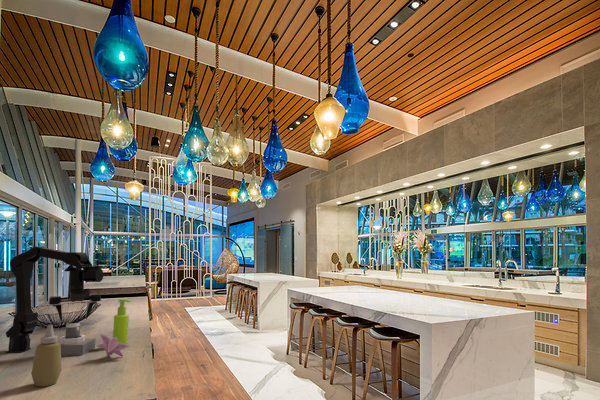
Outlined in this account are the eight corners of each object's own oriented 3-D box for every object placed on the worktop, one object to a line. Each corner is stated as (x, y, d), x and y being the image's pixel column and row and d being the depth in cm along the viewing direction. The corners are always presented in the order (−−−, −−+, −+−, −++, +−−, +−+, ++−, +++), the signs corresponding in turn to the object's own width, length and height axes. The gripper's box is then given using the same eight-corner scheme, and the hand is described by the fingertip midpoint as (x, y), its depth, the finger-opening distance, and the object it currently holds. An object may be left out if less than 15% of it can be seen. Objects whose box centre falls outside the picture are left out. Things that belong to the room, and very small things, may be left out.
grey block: (70, 343, 160) (71, 325, 161) (62, 342, 162) (63, 324, 163) (82, 341, 165) (83, 323, 165) (73, 340, 167) (75, 322, 168)
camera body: (45, 356, 156) (47, 340, 157) (61, 348, 168) (62, 334, 169) (82, 355, 158) (83, 339, 158) (95, 347, 169) (96, 333, 170)
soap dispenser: (123, 348, 169) (126, 300, 171) (109, 347, 170) (112, 300, 173) (132, 345, 174) (134, 299, 177) (118, 344, 176) (120, 298, 178)
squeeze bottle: (39, 380, 127) (44, 323, 129) (65, 379, 128) (69, 322, 130) (24, 389, 119) (29, 327, 121) (52, 388, 120) (56, 327, 122)
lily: (130, 362, 151) (135, 337, 156) (103, 356, 143) (109, 330, 148) (111, 368, 156) (116, 344, 161) (83, 362, 148) (90, 337, 153)
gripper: (51, 284, 155) (48, 325, 153) (104, 282, 165) (101, 320, 163) (50, 282, 164) (47, 321, 162) (99, 280, 174) (97, 316, 172)
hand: (73, 320), depth 164 cm, fingers open, 9 cm apart
